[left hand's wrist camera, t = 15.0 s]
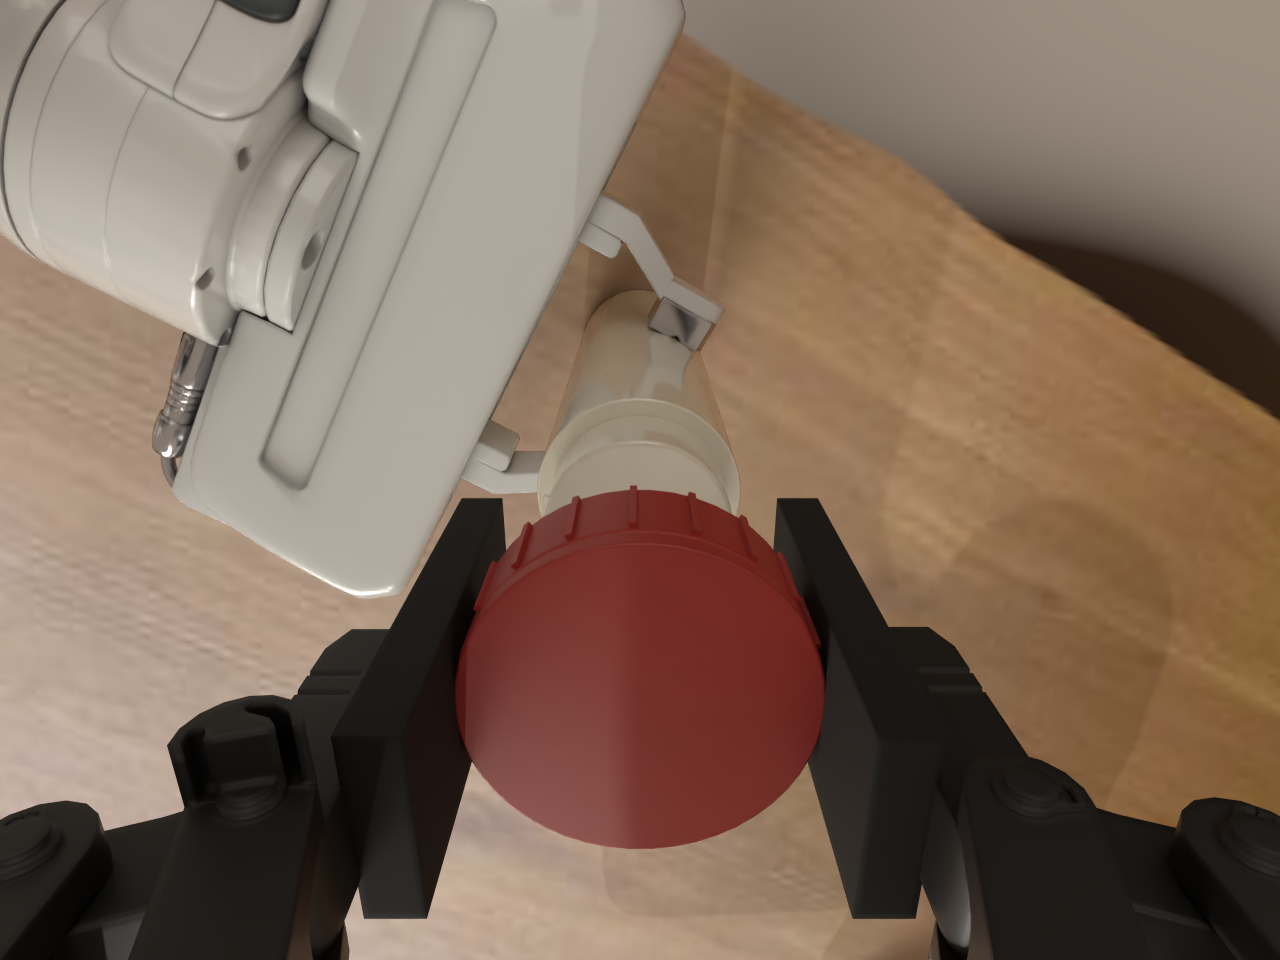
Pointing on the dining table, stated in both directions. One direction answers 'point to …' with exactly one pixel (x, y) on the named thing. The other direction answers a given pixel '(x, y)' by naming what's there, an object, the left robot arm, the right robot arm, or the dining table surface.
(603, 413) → the jar
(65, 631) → the dining table surface
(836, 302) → the dining table surface
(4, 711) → the dining table surface
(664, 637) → the lid
